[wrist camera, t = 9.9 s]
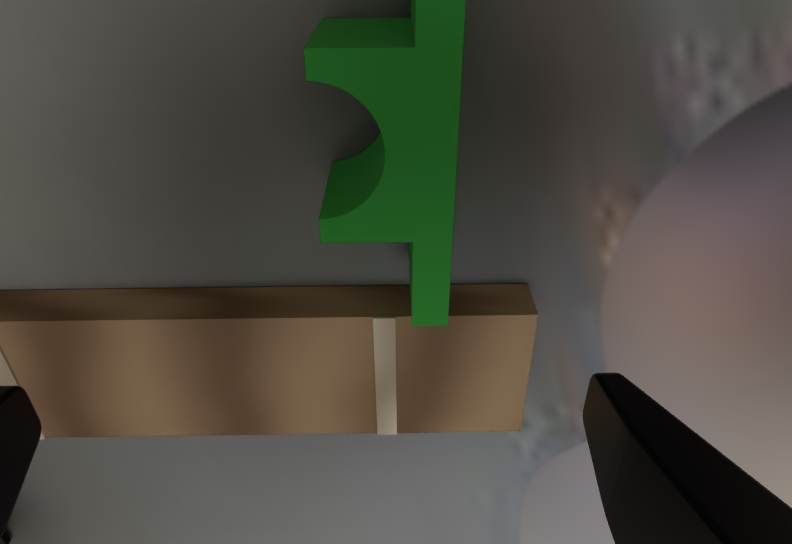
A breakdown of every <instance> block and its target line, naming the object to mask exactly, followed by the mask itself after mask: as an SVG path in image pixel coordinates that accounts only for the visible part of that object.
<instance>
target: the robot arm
mask: <svg viewBox="0 0 792 544" xmlns="http://www.w3.org/2000/svg"><path fill="white" fill-rule="evenodd" d="M583 423H584V428H585V432H586V436H587V441H588V445H589V449H590V453H591V458H592V462H593V465H594V470H595V475H596V479H597V483H598V487H599V491H600V495H601V499H602V503H603V507H604V511H605V515H606V518H607V521H608V524H609V527H610V530H611V533H612V536H613V539H614V541H615V544H792V508H791V507H789V506H788V505H787V504H786V503H784V502H783V501H782V500H781V499H779V498H778V497H777V496H775V495H774V494H773V493H772V492H770V491H769V490H768V489H767V488H765V487H764V486H763V485H761V484H760V483H759V482H758V481H756V480H755V479H754V478H753V477H751V476H750V475H748V474H747V473H746V472H745V471H744V470H742V469H741V468H740V467H739V466H737V465H736V464H735V463H733V462H732V461H731V460H729V459H728V458H727V457H726V456H725V455H723V454H722V453H721V452H720V451H718V450H717V449H716V448H714V447H713V446H712V445H711V444H709V443H708V442H707V441H706V440H704V439H703V438H702V437H700V436H699V435H698V434H697V433H695V432H694V431H693V430H691V429H690V428H689V427H687V426H686V425H685V424H684V423H682V422H681V421H680V420H679V419H678V418H676V417H675V416H674V415H672V414H671V413H670V412H669V411H667V410H666V409H665V408H664V407H662V406H661V405H660V404H658V403H657V402H656V401H655V400H653V399H652V398H651V397H650V396H648V395H647V394H646V393H644V392H643V391H642V390H641V389H639V388H638V387H637V386H636V385H634V384H633V383H632V382H630V381H629V380H628V379H627V378H625V377H624V376H622V375H621V374H619V373H596V374H594V375H592V377H591V379H590V382H589V387H588V391H587V396H586V400H585V404H584V409H583ZM41 431H42V426H41V421H40V419H39V417H38V415H37V413H36V410H35V408H34V406H33V404H32V402H31V400H30V398H29V396H28V394H27V392H26V391H25V389H23V388H22V387H21V386H0V544H9V543H10V541H11V539H10V537H9V535H8V534H7V532H6V531H5V528H6V526H7V523H8V521H9V519H10V516H11V514H12V511H13V509H14V506H15V503H16V501H17V498H18V495H19V493H20V490H21V487H22V485H23V482H24V479H25V477H26V474H27V471H28V469H29V466H30V463H31V461H32V458H33V456H34V453H35V450H36V448H37V445H38V442H39V440H40V436H41Z"/></svg>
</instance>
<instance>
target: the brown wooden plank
mask: <svg viewBox="0 0 792 544" xmlns="http://www.w3.org/2000/svg"><path fill="white" fill-rule="evenodd" d="M537 320H538V312H537V310H536V307H535V304H534V301H533V299H532V296H531V293H530V290H529V288H528V285H527V284H465V285H450V294H449V312H448V326H412V318H411V296H410V285H386V286H306V287H227V288H147V289H68V290H0V386H21V387H22V388H23V389H25V391H26V392H27V394H28V396H29V398H30V400H31V402H32V404H33V406H34V408H35V410H36V413H37V415H38V417H39V419H40V421H41V426H42V431H41V436H40V439H45V438H46V437H115V436H193V435H271V434H349V433H377V435H397V433H427V432H505V431H520V430H521V423H522V417H523V410H524V404H525V398H526V391H527V385H528V378H529V372H530V365H531V359H532V353H533V346H534V340H535V333H536V327H537Z"/></svg>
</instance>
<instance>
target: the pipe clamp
mask: <svg viewBox="0 0 792 544" xmlns="http://www.w3.org/2000/svg"><path fill="white" fill-rule="evenodd" d="M465 7H466V0H411V18H323V19H322V20H321V22H320V24H319V25H318V27H317V28H316V30H315V31H314V33H313V34H312V36H311V38H310V39H309V41H308V42H307V44H306V45H305V47H304V60H305V71H306V81H315V82H321V83H326V84H329V85H333V86H335V87H338V88H340V89H342V90H344V91H346V92H348V93H349V94H351V95H352V96H354V97H355V98H356V99H357V100H359V101H360V102H361V103H362V104H363V105H364V106H365V107H366V108H367V109H368V111H369V112H370V113H371V114H372V116H373V118H374V119H375V121H376V122H377V125H378V127H379V129H380V131H381V132H380V134H379V135H378V137H377V138H376V140H375V141H374V142H373V143H372V144H371V145H370V146H369V147H368V148H367V149H366V150H364V151H363V152H361V153H360V154H358V155H356V156H354V157H351V158H348V159H344V160H337V161H333V162H332V166H331V170H330V174H329V178H328V182H327V187H326V191H325V195H324V199H323V203H322V207H321V211H320V216H319V230H320V241H321V243H387V242H409V273H410V296H411V318H412V326H448V312H449V294H450V276H451V258H452V240H453V222H454V204H455V186H456V168H457V151H458V133H459V115H460V97H461V79H462V61H463V43H464V25H465Z"/></svg>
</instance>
